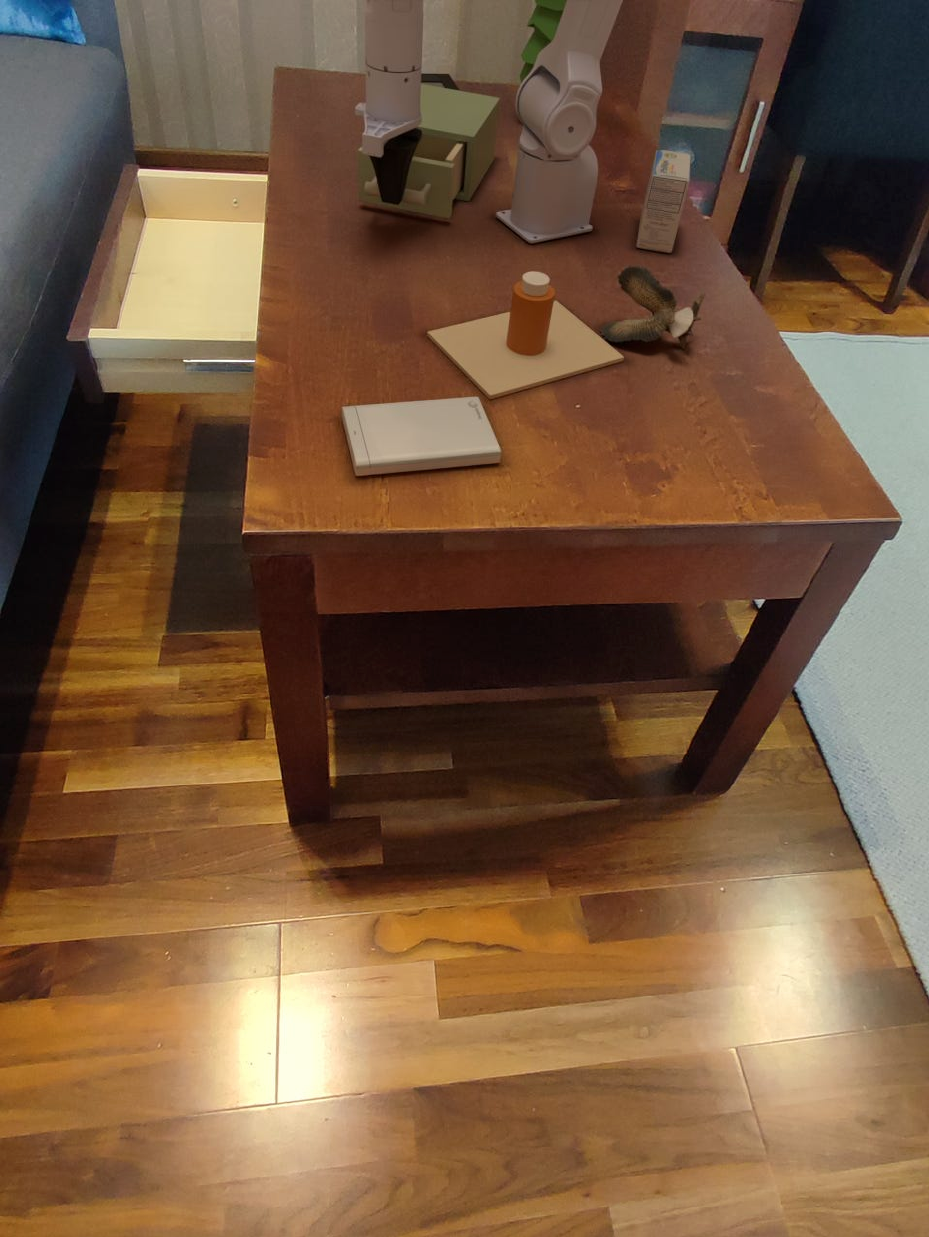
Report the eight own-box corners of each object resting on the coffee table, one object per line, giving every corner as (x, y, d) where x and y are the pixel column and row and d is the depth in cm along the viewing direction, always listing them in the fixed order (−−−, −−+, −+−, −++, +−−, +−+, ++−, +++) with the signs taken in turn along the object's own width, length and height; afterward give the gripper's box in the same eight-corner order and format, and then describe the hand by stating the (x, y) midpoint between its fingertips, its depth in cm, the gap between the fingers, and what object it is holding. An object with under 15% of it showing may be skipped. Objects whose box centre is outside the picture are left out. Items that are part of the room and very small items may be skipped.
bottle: (531, 330, 85) (541, 264, 80) (553, 350, 83) (565, 283, 78) (498, 338, 84) (506, 272, 79) (520, 359, 82) (530, 291, 76)
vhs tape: (447, 87, 132) (448, 73, 130) (469, 122, 123) (471, 107, 122) (401, 87, 130) (401, 73, 129) (420, 122, 121) (420, 107, 120)
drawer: (439, 234, 97) (442, 181, 93) (346, 215, 98) (345, 163, 94) (475, 176, 108) (479, 127, 104) (391, 160, 110) (392, 111, 105)
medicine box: (671, 255, 100) (691, 179, 94) (634, 248, 100) (652, 173, 94) (673, 227, 105) (693, 153, 99) (638, 221, 106) (655, 147, 99)
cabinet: (468, 201, 105) (474, 136, 100) (373, 183, 107) (373, 118, 101) (494, 159, 115) (500, 97, 109) (406, 143, 116) (408, 81, 110)
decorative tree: (501, 119, 125) (529, -151, 102) (535, 104, 130) (569, -155, 108) (555, 138, 122) (596, -136, 99) (588, 123, 127) (634, -141, 104)
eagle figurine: (691, 311, 89) (612, 282, 89) (718, 278, 82) (633, 245, 82) (670, 375, 88) (591, 346, 88) (696, 347, 81) (610, 314, 81)
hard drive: (478, 394, 75) (341, 403, 73) (502, 450, 70) (355, 462, 68) (476, 409, 77) (341, 419, 74) (499, 465, 72) (356, 478, 69)
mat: (555, 304, 90) (556, 300, 90) (623, 361, 84) (624, 356, 84) (427, 335, 84) (427, 331, 84) (489, 399, 78) (490, 395, 77)
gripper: (377, 37, 90) (377, 170, 100) (331, 78, 80) (336, 221, 90) (440, 48, 89) (434, 181, 99) (401, 90, 79) (398, 233, 90)
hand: (391, 201), depth 95 cm, fingers closed
